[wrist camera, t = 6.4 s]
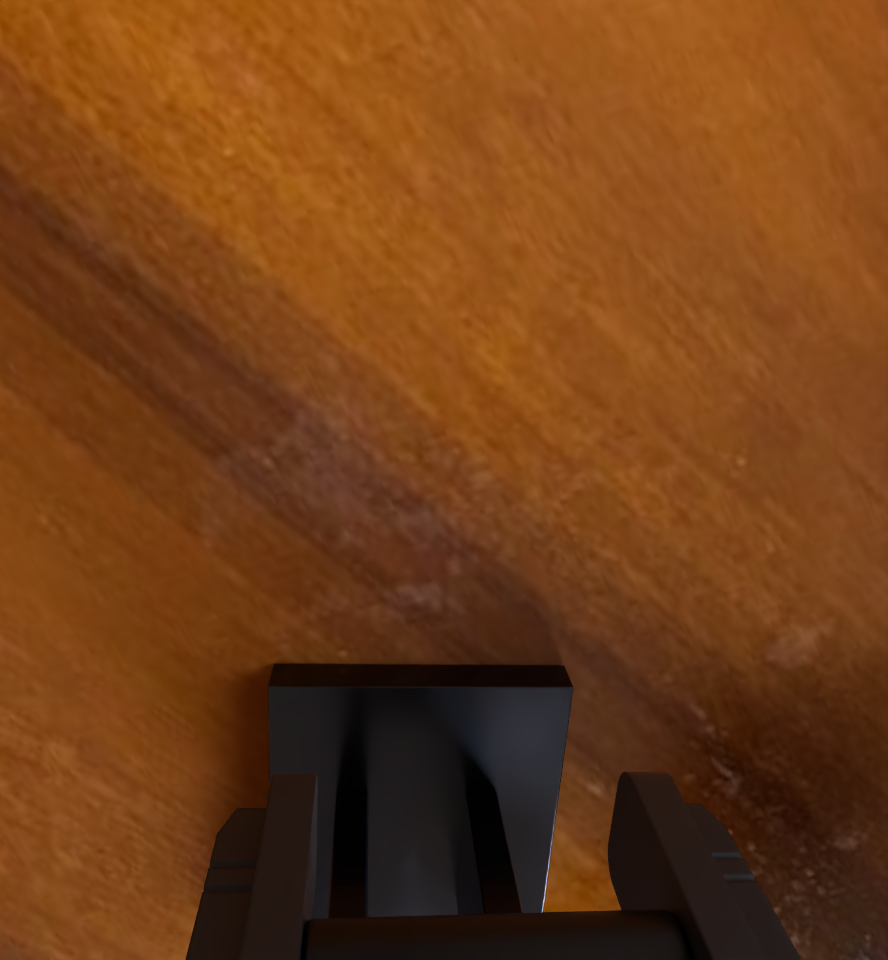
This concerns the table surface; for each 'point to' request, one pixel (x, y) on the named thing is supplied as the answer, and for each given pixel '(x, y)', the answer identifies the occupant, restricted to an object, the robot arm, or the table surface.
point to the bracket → (425, 782)
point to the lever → (500, 937)
